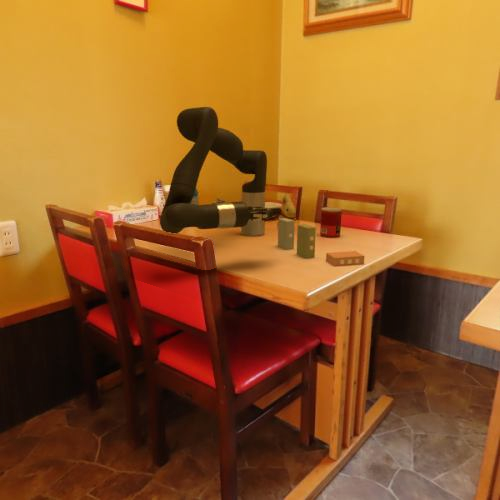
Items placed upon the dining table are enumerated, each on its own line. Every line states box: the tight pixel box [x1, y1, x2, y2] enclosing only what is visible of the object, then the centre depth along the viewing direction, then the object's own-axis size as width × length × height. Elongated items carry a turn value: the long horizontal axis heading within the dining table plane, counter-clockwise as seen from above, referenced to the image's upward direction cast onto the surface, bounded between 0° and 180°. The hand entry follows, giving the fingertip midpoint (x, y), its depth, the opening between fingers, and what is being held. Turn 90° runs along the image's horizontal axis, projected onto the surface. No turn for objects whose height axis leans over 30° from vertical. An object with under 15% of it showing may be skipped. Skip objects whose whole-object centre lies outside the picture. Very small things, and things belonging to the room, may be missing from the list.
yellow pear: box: [276, 193, 297, 227], centre depth 177 cm, size 7×11×15 cm, turn 30°
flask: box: [211, 197, 226, 204], centre depth 198 cm, size 9×3×11 cm, turn 151°
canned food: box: [319, 206, 343, 239], centre depth 164 cm, size 8×8×11 cm
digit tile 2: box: [296, 223, 317, 259], centre depth 135 cm, size 3×6×10 cm, turn 27°
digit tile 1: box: [277, 218, 296, 251], centre depth 146 cm, size 3×6×10 cm, turn 27°
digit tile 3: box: [325, 250, 365, 267], centre depth 128 cm, size 3×6×10 cm
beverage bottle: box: [190, 188, 200, 205], centre depth 195 cm, size 8×8×20 cm
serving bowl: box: [265, 201, 283, 218], centre depth 203 cm, size 21×21×7 cm
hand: (280, 211), depth 128 cm, fingers closed
